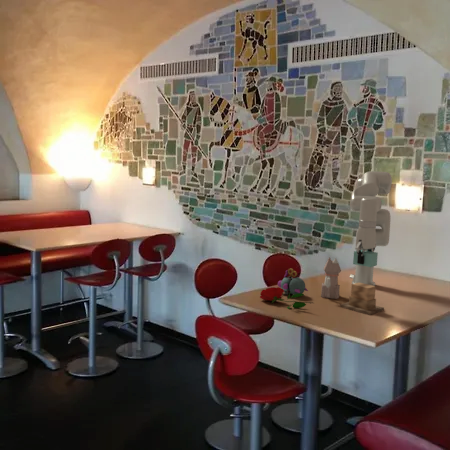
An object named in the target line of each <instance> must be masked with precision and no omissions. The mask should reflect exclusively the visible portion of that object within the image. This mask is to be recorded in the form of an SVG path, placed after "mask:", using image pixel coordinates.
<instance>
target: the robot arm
mask: <svg viewBox="0 0 450 450" xmlns="http://www.w3.org/2000/svg"><path fill="white" fill-rule="evenodd" d="M392 182H393V179H392V175H391V174H390V172H388V171H374V170H371V171H370V170H369V171H366V172H365V173H363V175H362V177H359V178H358V179H357V181H356V188H355V189H353V191H352V192H351V195H350V201H349V205H350V209H351V211H353V212H358V213H359V218H358V219H359V222H358V229H357V230H356V233H355V238H356V239H355V248H354V249H355V251H356V252H357V255H358V260H357V263H358V264H364V256H363V255H364V252H365V251H370V252H375V250H376V247H387V246H388V245H389V242H390V235H391V234H390V233H391V232H390V231H391V213H390V211H389V210H388V209H387V208H382V204H383V203H382V200H381V198H380V197H378V196H377V195H388V194H390V192H391V190H392V184H393V183H392ZM377 227H379V228H377ZM361 250H362V252H361ZM374 267H375V266H373V267H367V266H361V265H355V273H354V274H353V273H352V274H351V273H350V275H349V279H352V281H351V285H352V284H355V283H364V284H368V285H372V286H376V282H374V281H373V278H374Z"/></svg>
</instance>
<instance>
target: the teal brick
mask: <svg viewBox="0 0 450 450" xmlns="http://www.w3.org/2000/svg"><path fill="white" fill-rule="evenodd" d="M361 252H362V250H361ZM378 254H379V253H378V252H377V251H376V252H375V251H374V252H370V251H365V252H364V255H363V256H364V264H358V263H357V260H358V255H357V252H356V250H355V251H353V262H352V265H355V266H356V265H361V266H367V267H373V266H374V267H375V266H376V267H377V265H378V256H379V255H378Z"/></svg>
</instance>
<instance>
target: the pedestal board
mask: <svg viewBox="0 0 450 450" xmlns="http://www.w3.org/2000/svg"><path fill="white" fill-rule="evenodd" d="M376 303H377V298H375V299H372V300H369V301H366V300H362V299H358V298H354V297H351V295H350V296H349V298H348V301H347V302H344V303H340V308H343V309H346V310H350V311H353V310H354V312H357V311H358V313H362V314H364V315H367V316H368V315H369V316H370V315H374V314H377V313H379V311H380V312H382V310H383V311H384V310H385V307H383V306H379V305H376Z"/></svg>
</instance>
